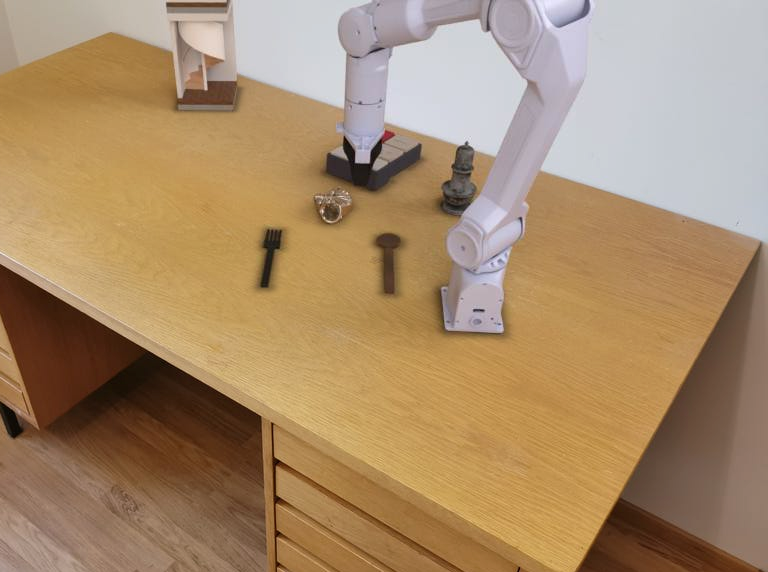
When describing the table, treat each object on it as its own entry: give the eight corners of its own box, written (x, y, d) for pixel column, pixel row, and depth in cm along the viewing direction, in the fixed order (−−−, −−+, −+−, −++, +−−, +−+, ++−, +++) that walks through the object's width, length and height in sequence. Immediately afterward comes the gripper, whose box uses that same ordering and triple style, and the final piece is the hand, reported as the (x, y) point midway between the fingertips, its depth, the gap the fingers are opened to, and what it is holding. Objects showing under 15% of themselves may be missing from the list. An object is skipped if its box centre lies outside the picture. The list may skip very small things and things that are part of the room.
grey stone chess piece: (473, 217, 124) (485, 151, 116) (437, 214, 125) (447, 148, 116) (474, 199, 128) (486, 133, 120) (439, 196, 129) (449, 130, 121)
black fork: (273, 287, 111) (273, 285, 110) (255, 287, 111) (255, 285, 111) (282, 231, 122) (282, 229, 121) (266, 230, 122) (266, 228, 121)
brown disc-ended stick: (401, 293, 109) (402, 290, 109) (377, 292, 110) (377, 289, 109) (399, 236, 120) (400, 233, 120) (377, 235, 120) (377, 232, 120)
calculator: (423, 140, 136) (377, 168, 127) (420, 161, 139) (375, 191, 130) (373, 123, 141) (326, 149, 132) (371, 144, 144) (324, 172, 135)
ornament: (322, 196, 129) (322, 177, 127) (359, 204, 127) (360, 185, 125) (304, 219, 124) (304, 200, 121) (343, 228, 122) (344, 209, 119)
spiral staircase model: (178, 110, 154) (156, -82, 130) (185, 88, 162) (165, -97, 138) (233, 110, 154) (221, -82, 130) (237, 88, 162) (226, -97, 138)
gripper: (338, 74, 108) (335, 159, 118) (334, 118, 98) (331, 208, 107) (386, 75, 108) (380, 160, 117) (388, 120, 97) (380, 210, 107)
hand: (360, 183), depth 112 cm, fingers closed
